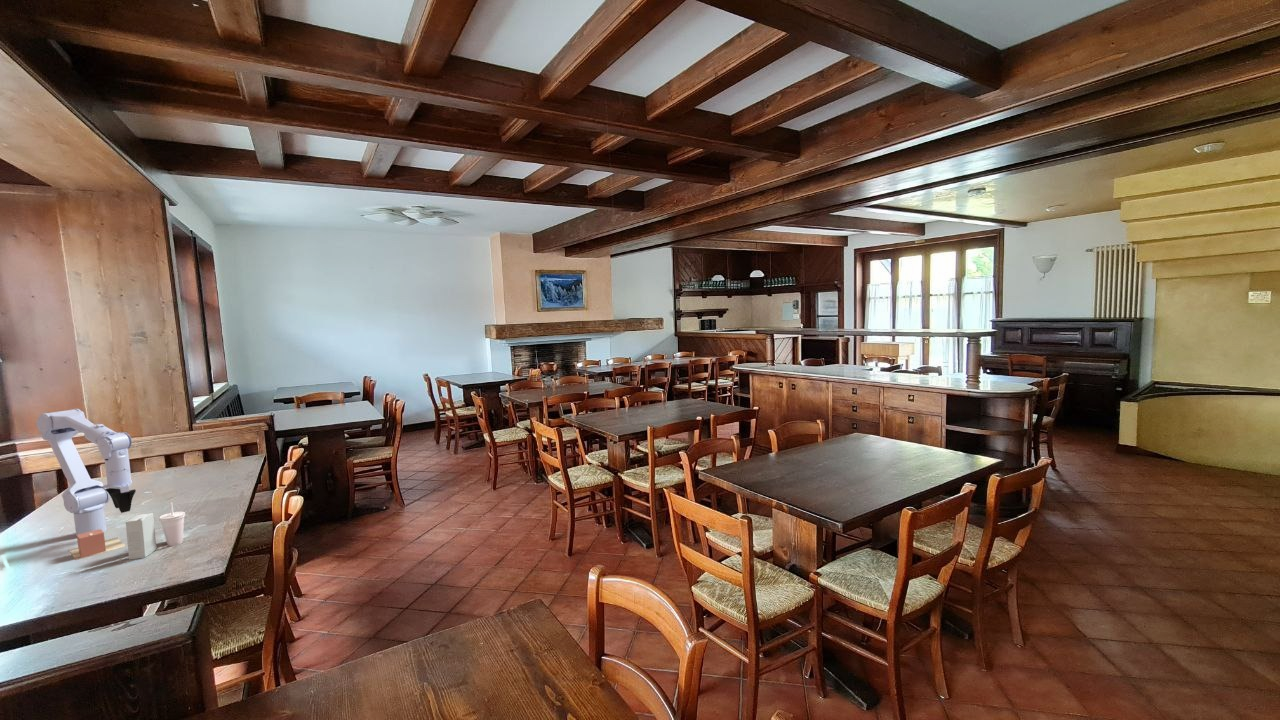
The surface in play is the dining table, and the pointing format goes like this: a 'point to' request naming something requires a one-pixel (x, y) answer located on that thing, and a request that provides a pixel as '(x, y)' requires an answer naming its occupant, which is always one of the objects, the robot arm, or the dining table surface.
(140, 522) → the skincare box
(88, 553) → the terracotta orange block
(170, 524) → the smoothie
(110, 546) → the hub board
